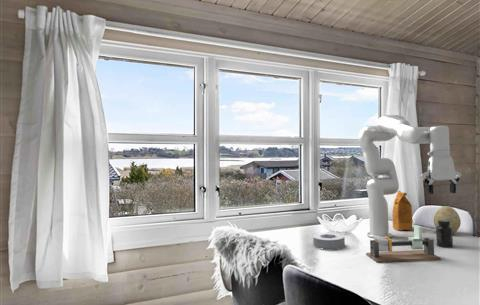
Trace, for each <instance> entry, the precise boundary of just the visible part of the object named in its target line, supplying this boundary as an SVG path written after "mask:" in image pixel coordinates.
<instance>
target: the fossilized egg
mask: <svg viewBox="0 0 480 305" xmlns="http://www.w3.org/2000/svg"><path fill="white" fill-rule="evenodd" d="M438 220H447V221H450V225H449V226H450V227H451V228H452V234H454V233H456V232H458V230H459V229H460V227H461V222H462V221H461V217H460V215H459V213H458V212H457V211H456V210H455V209H454V208H453V207H452V206H448V205H444V206H442V207H440V208H438V209H437V211H436V212H434V216H433V223H434V226H435V228H436V227H437V226H439V225H438Z"/></svg>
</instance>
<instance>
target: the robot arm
mask: <svg viewBox="0 0 480 305" xmlns="http://www.w3.org/2000/svg"><path fill="white" fill-rule="evenodd" d="M395 137H397V138H398V139H399V140H401V141H404V142H405V143H409V144H413V145H416V144H417V145H418V144H429V151H427V153H426V154H427V156H430V157H428V163H427V171H425V172H423V173H421V174H420V177H421V179H422V181H423V182H424V183H425V185H426V189H427V190H426V191H427V193H428V194H429V195H433V194H434V185H433V183H434V182H435V181H449V182H450V183H449V193H450V194H456V193H457V192H456V191H457V184H458V182H459V181H460V178H461V177H462V173H461V172H459V171H457V170H456V168H455V163H454V159H453V157H452V156H451V154H450V153H451V151H450V150H451V149H450V148H451V147H450V146H451V145H450V128H449V127H448V126H447V125H437V126H436V125H435V126H434V125H433V126H411V125H410V122H409V121H408V120H407V119H406V118H405V117H404V116H402V115H401V114H399V115H398V114H386V115H385V114H384V115H382V116H380V117H379V118H378V120H377V125H369V126H364V127H363V128H361V129H360V131H359V133H358V144H359V146H360V149H361V152H362V156H363V161H364V162H363V163H364V167H365V171H366V173H367V174H368V175H369V176H371V177H372V178H370V179H368V180H367V182H366V186H365V187H366V191H367V196H368V209H369V210H368V213H369V215H368V216H369V217H368V218H369V232H367V233H366V236H367V237H369V238H371V239H374V238H382V237H383V238H384V237H388V238H390V239H392V237H393V235H392V233H391V232H390V230H389V229H390V228H389V208H388V201H387V199H386V197H385V196H387V195H394V194H397V193H398V191H399V189H400V188H399V187H400V186H399V185H400V184H399V179H398V174H397V171H396V166H395V164H394V161H393V160H392V159H390V158H388V157H381V155H380V152H379V149H378V146H376V144H375V143H374V142H387V141H388V142H389V141H390V140H392V139H393V138H395ZM375 176H378V177H375ZM379 176H382V177H379ZM373 177H374V178H373ZM427 178H428V179H427Z"/></svg>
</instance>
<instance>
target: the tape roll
mask: <svg viewBox="0 0 480 305" xmlns="http://www.w3.org/2000/svg"><path fill="white" fill-rule="evenodd" d="M345 239H346V238H345V236H344V235H343V234H340V233H337V232H336V233H335V232H319V233H315V234H314V235H313V237H312V241H313V242H312V243H313V244H312V246H313V245H314V246H315V247H318V248H323V249H322V250H324V249H336V250H339V249H338V248H342V249H344V248H345V247H346V244H345ZM314 246H313V247H314ZM315 247H314V248H315ZM343 247H344V248H343ZM318 248H317V249H318Z"/></svg>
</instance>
